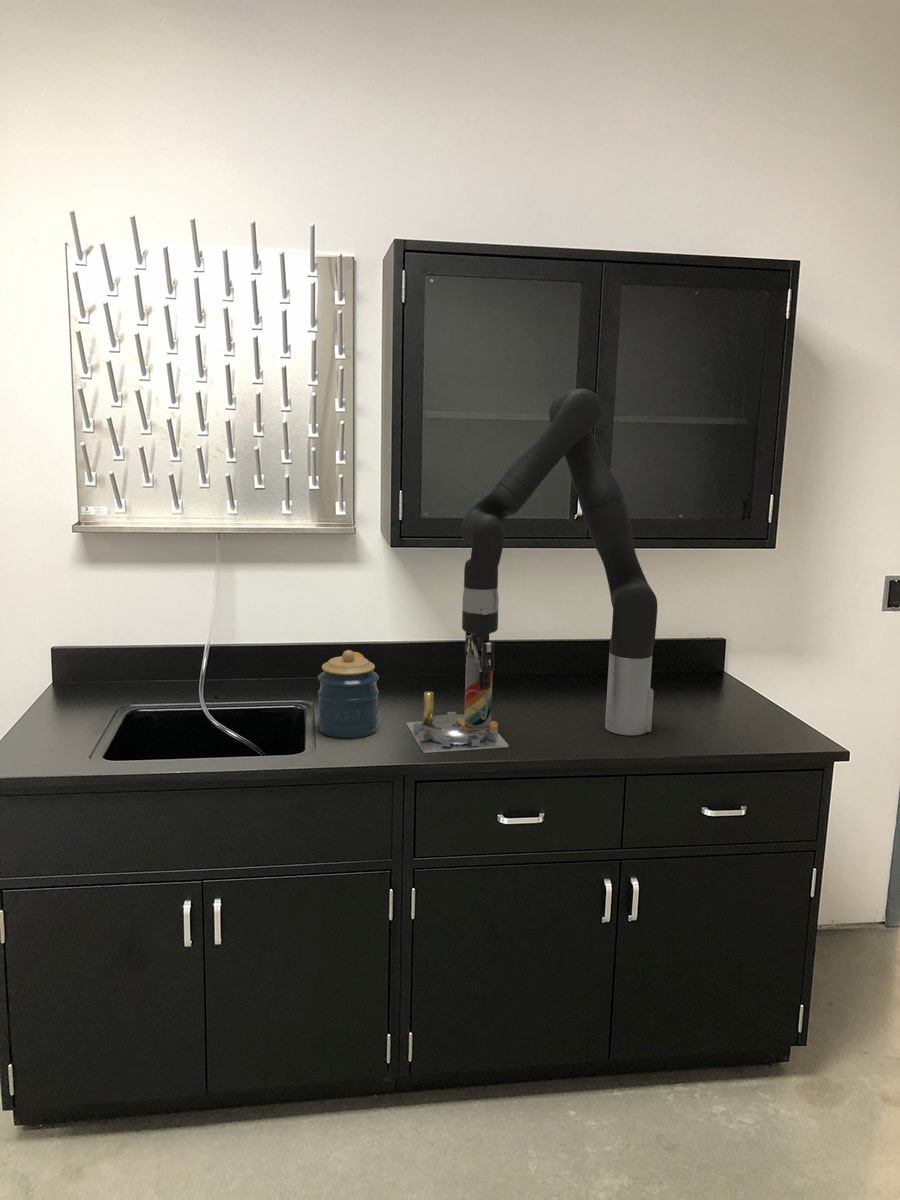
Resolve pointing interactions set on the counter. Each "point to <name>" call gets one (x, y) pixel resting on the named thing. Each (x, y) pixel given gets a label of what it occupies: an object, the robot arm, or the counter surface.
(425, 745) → the base plate
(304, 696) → the counter surface
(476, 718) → the lotion bottle
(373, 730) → the canister
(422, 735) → the sprocket
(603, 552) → the robot arm
